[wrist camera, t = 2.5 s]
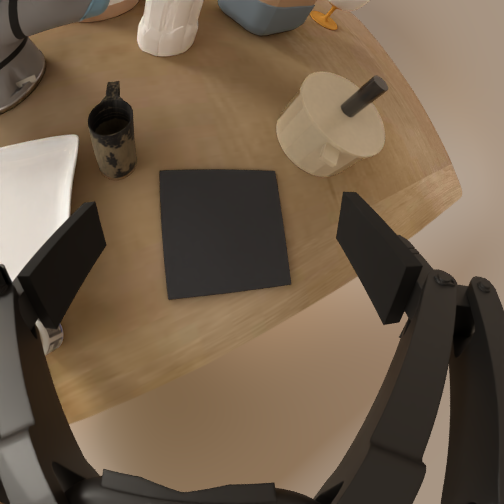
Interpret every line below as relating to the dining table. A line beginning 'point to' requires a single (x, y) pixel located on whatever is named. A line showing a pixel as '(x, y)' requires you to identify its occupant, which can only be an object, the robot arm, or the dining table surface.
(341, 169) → the cooker
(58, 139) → the plate
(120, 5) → the bowl
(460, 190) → the dining table surface
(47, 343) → the pill bottle
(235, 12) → the two-tone home speaker
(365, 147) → the cooker lid
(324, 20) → the cup
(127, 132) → the mug
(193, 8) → the decorative vase
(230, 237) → the trivet
